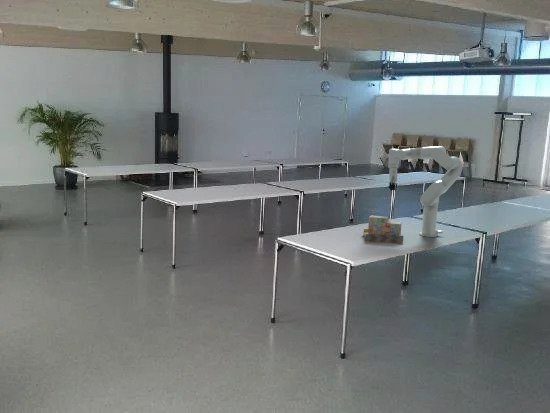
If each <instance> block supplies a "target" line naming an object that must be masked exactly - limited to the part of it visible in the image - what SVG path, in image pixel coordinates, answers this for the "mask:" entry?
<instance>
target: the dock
mask: <svg viewBox="0 0 550 413" xmlns="http://www.w3.org/2000/svg"><path fill="white" fill-rule="evenodd" d="M363 239H364V242H366V243H367V242H368V243H383V242H384V243H387V244H390V243H391V244H404V235H402V234H401V235H378V234H368V227H367V228H365V227H364V228H363Z"/></svg>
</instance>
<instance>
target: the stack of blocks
mask: <svg viewBox="0 0 550 413" xmlns="http://www.w3.org/2000/svg"><path fill="white" fill-rule="evenodd" d="M367 226H368V227H367V229H368V234H378V235H401V236H402V234H401V233H402V222H399V221H389V216H383V215H381V216H380V215H370V216H369V217H368V225H367Z"/></svg>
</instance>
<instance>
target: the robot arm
mask: <svg viewBox="0 0 550 413" xmlns="http://www.w3.org/2000/svg"><path fill="white" fill-rule="evenodd" d="M413 159H414V160H415V159H419V160H434V161H435V162H436V163H438V164H439V165H440V166H441V167H442V168H444V169H445V170H446V172H445V173H444V174H443V176H441V178H439V180H435V181H434V182H432V183H431V184H430V186H428V188H426V190H425V191H424V192H423V193H422V194H421V196H420V198H419V199H420V200H419V201H420V204H421V205H422V206H423V211H422V225H421V226H422V227H421V231H420V232H419V236H421V237H425V238H437V237H438V235H439V234H444V233H443V232H444V231H443V230H439V229H437V220H438V219H437V218H438V210H439V203H440V197H441V195H443V194H445V193H446V192H447V191H448V190H449V189H450V188H451V186H452V185H454V183H455V182H456V181H457V179H458V178H460V176H461V174H462V171H463V163H462V159H460V158H459V157H458V156H450V155H449V154H448V153H447V150H446V147H444V146H442V145H441V146H440V145H439V146H437V145H436V146H422V147H416V148H403V149H398V148H389V151H388V163H387V165H388V166H387V167H388V170H389V174H388V175H389V176H388V181H389V183H388V184H389V186H388V188H389V189H390V191H395V190H396V182H398V169H399V167H400V166H399V165H400V160H401V161H405V160H413Z"/></svg>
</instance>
